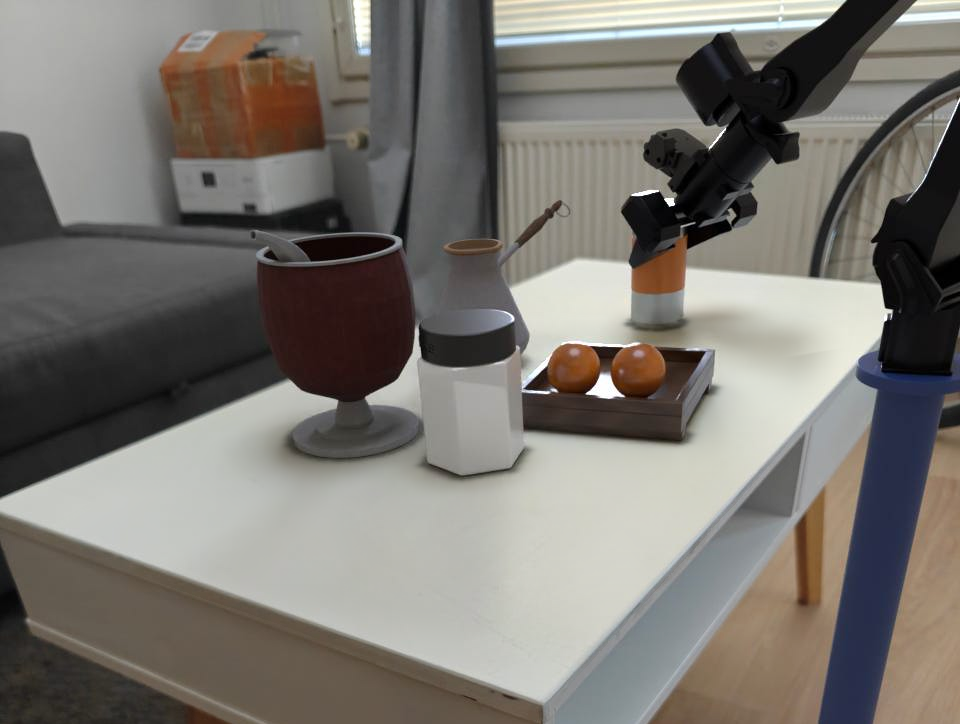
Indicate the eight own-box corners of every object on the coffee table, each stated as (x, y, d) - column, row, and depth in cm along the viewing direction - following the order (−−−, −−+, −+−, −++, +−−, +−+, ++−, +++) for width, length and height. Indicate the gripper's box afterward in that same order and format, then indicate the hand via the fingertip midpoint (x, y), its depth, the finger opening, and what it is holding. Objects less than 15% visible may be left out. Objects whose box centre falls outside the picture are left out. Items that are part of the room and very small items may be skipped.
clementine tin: (688, 310, 116) (694, 197, 109) (677, 325, 111) (682, 207, 104) (637, 309, 118) (640, 198, 111) (624, 323, 113) (626, 208, 106)
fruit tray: (712, 385, 95) (718, 310, 91) (680, 443, 83) (685, 360, 79) (564, 376, 100) (563, 305, 96) (513, 429, 88) (509, 351, 84)
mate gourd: (350, 400, 98) (320, 194, 87) (455, 420, 91) (437, 199, 80) (243, 451, 88) (193, 226, 77) (352, 478, 81) (314, 234, 70)
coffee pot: (483, 386, 99) (473, 237, 91) (410, 369, 106) (395, 228, 98) (603, 337, 112) (604, 201, 103) (531, 324, 118) (526, 196, 110)
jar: (449, 436, 88) (437, 306, 81) (531, 440, 86) (527, 307, 79) (416, 474, 81) (401, 335, 74) (505, 479, 79) (498, 337, 72)
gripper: (744, 92, 104) (664, 193, 118) (636, 110, 95) (561, 218, 108) (798, 172, 103) (710, 265, 117) (694, 198, 94) (611, 297, 107)
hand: (649, 259), depth 112 cm, fingers closed on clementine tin, 6 cm apart
